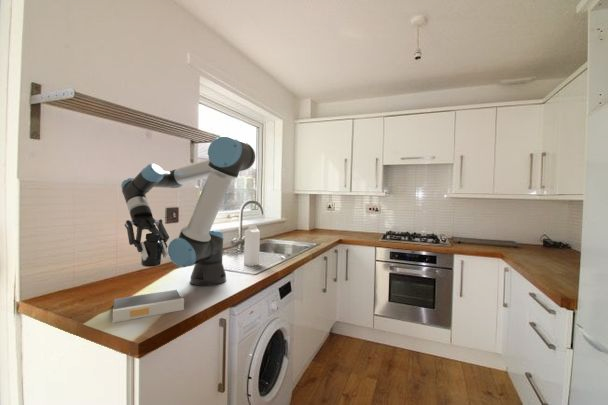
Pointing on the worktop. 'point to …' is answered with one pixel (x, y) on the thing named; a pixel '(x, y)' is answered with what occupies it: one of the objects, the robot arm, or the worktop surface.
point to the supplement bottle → (152, 250)
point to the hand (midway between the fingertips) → (156, 257)
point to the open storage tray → (146, 305)
